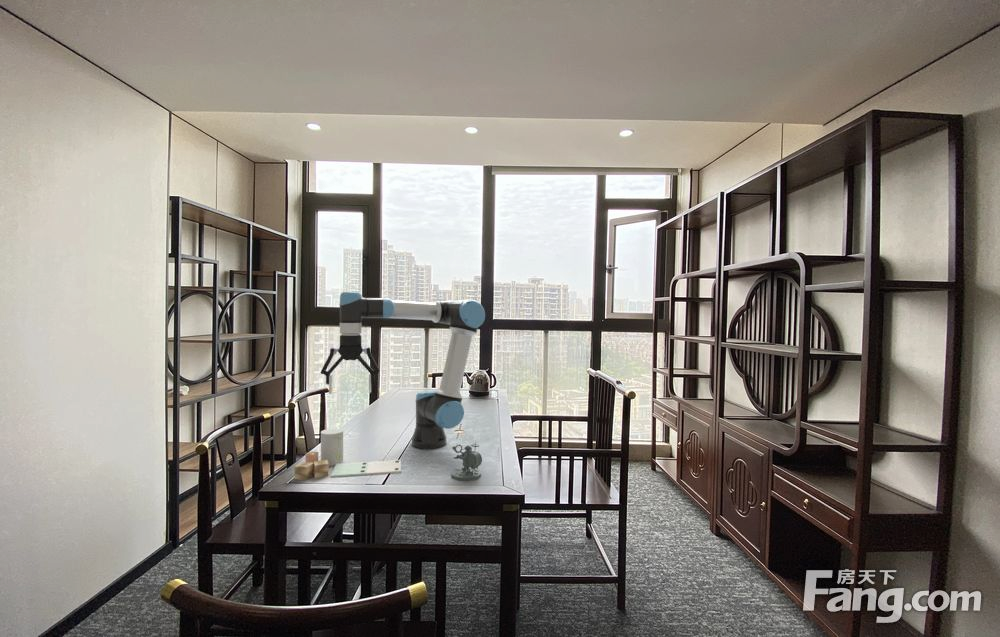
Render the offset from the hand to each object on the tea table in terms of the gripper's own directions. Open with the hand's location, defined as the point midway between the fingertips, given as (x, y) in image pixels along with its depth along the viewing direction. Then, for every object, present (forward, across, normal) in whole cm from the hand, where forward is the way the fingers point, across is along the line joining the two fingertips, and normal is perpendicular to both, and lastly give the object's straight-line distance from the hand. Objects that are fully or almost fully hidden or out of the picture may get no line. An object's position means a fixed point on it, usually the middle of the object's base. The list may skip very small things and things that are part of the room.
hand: (350, 392), depth 164 cm
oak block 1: (+29, +15, +3) cm, 33 cm away
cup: (+29, +8, -11) cm, 32 cm away
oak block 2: (+29, +10, +2) cm, 30 cm away
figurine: (+29, -41, +12) cm, 52 cm away
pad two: (+29, -12, -1) cm, 31 cm away
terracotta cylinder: (+29, +14, -4) cm, 32 cm away
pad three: (+29, 0, -1) cm, 29 cm away
